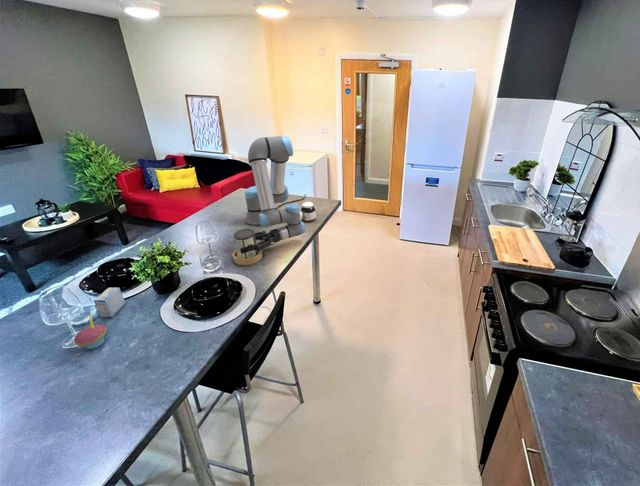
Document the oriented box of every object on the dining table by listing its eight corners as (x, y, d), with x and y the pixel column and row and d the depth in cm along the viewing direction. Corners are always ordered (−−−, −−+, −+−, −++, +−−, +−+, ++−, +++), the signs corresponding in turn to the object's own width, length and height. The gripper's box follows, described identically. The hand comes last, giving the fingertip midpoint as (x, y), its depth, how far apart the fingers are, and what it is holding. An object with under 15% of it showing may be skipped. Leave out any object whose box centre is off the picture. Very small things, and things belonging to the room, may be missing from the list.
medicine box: (115, 303, 122) (107, 287, 118) (126, 303, 122) (119, 286, 118) (100, 317, 114) (92, 300, 111) (112, 317, 115) (105, 300, 111)
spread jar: (318, 219, 199) (317, 203, 195) (306, 225, 191) (305, 209, 186) (305, 215, 205) (304, 200, 200) (293, 220, 196) (292, 205, 192)
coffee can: (246, 249, 161) (242, 227, 155) (262, 253, 158) (258, 230, 152) (233, 259, 152) (228, 236, 146) (249, 263, 149) (245, 239, 143)
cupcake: (106, 330, 109) (94, 306, 104) (114, 341, 104) (102, 316, 99) (76, 346, 102) (62, 321, 97) (83, 358, 98) (69, 333, 93)
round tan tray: (245, 248, 163) (244, 242, 162) (267, 252, 160) (267, 247, 158) (227, 262, 151) (226, 256, 149) (251, 267, 147) (250, 261, 146)
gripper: (287, 248, 156) (245, 262, 143) (271, 232, 172) (232, 244, 159) (286, 236, 153) (243, 249, 140) (270, 221, 169) (230, 232, 156)
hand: (237, 246), depth 149 cm, fingers closed on coffee can, 10 cm apart
